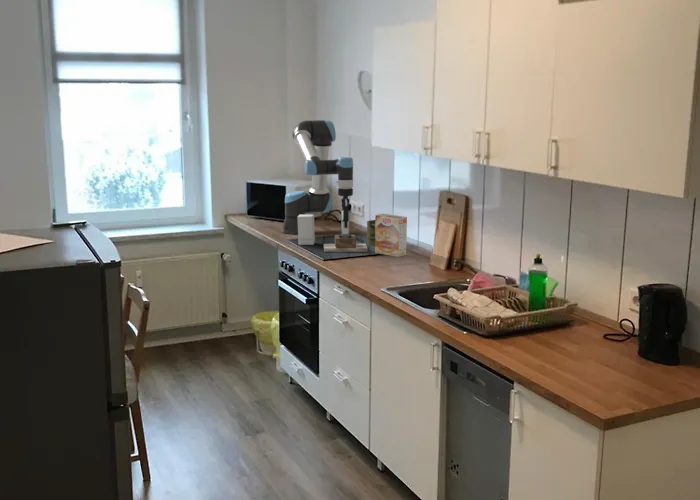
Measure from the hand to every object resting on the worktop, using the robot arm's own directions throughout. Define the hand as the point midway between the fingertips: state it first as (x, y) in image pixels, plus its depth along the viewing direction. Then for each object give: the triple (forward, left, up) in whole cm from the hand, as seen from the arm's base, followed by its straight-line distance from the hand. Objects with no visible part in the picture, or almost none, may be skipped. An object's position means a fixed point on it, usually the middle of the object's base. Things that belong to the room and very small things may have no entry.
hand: (345, 232), depth 391 cm
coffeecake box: (+13, +22, -9) cm, 27 cm away
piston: (-13, +18, -9) cm, 24 cm away
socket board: (0, 0, -8) cm, 8 cm away
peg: (0, 0, -5) cm, 5 cm away
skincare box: (-14, -20, -9) cm, 26 cm away
